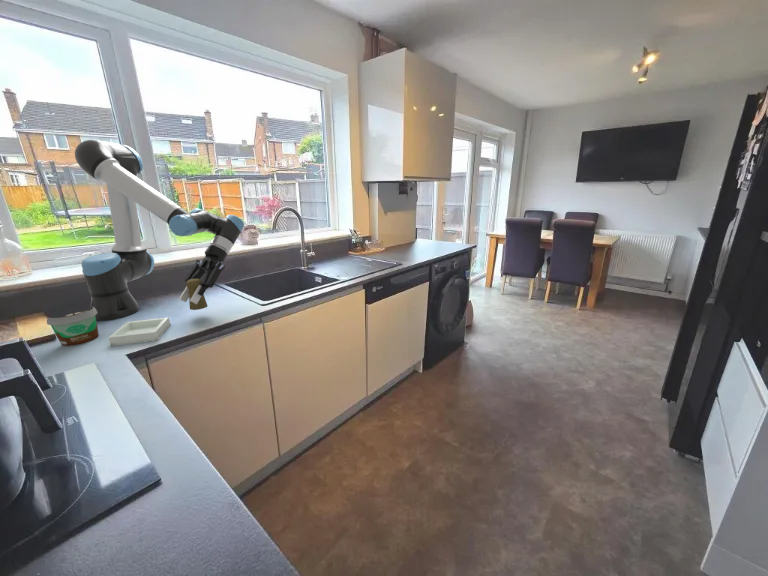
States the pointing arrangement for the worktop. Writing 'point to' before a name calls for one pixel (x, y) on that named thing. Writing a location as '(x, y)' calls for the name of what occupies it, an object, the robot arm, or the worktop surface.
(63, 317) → the food container
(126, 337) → the tray
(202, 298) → the pepper mill
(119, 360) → the worktop surface
